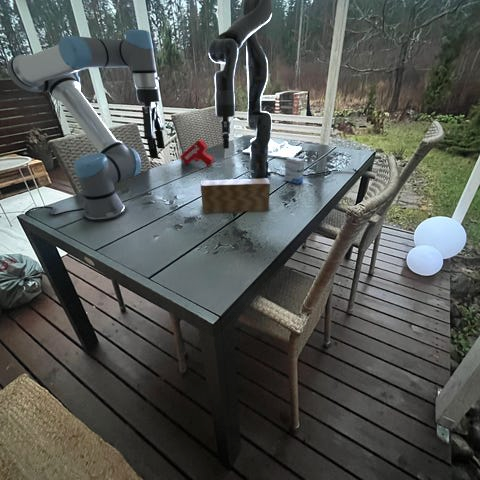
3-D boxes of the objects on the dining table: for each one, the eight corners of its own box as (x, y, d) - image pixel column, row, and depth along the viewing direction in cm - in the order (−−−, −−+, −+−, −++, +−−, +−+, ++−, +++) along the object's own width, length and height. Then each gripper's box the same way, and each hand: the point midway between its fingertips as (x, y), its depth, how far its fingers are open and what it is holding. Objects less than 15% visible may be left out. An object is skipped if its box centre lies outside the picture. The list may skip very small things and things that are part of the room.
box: (266, 204, 120) (267, 178, 113) (268, 210, 115) (270, 183, 108) (203, 206, 118) (201, 180, 112) (203, 212, 113) (200, 185, 107)
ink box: (302, 181, 142) (305, 159, 136) (297, 184, 139) (300, 161, 133) (289, 177, 147) (291, 156, 141) (284, 180, 144) (285, 158, 138)
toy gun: (217, 159, 165) (202, 138, 161) (214, 161, 162) (199, 139, 158) (197, 174, 175) (183, 155, 171) (194, 176, 172) (179, 156, 168)
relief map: (291, 159, 177) (291, 151, 174) (243, 153, 190) (243, 145, 187) (302, 149, 197) (303, 142, 194) (258, 144, 211) (258, 137, 208)
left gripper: (150, 91, 80) (162, 162, 92) (164, 85, 101) (172, 144, 113) (124, 91, 80) (139, 163, 91) (144, 86, 101) (154, 144, 112)
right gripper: (235, 104, 99) (235, 150, 108) (234, 100, 111) (234, 141, 120) (214, 104, 99) (216, 150, 108) (216, 100, 111) (217, 142, 120)
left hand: (158, 152), depth 102 cm, fingers open, 13 cm apart
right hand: (226, 145), depth 114 cm, fingers open, 8 cm apart
